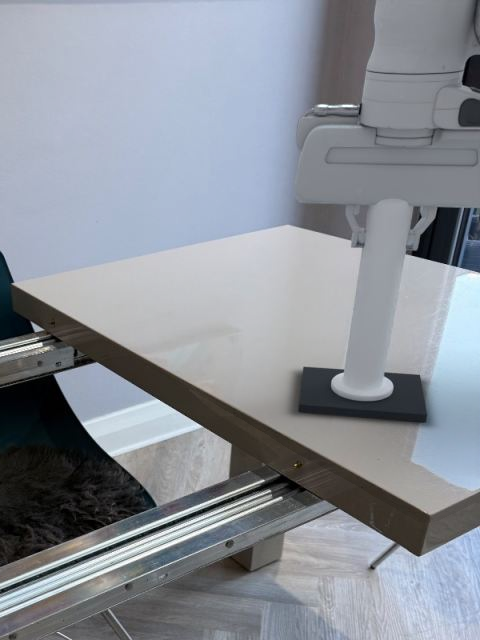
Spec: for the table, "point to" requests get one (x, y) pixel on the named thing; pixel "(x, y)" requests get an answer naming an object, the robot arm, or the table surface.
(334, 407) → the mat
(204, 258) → the table surface
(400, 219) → the candle
